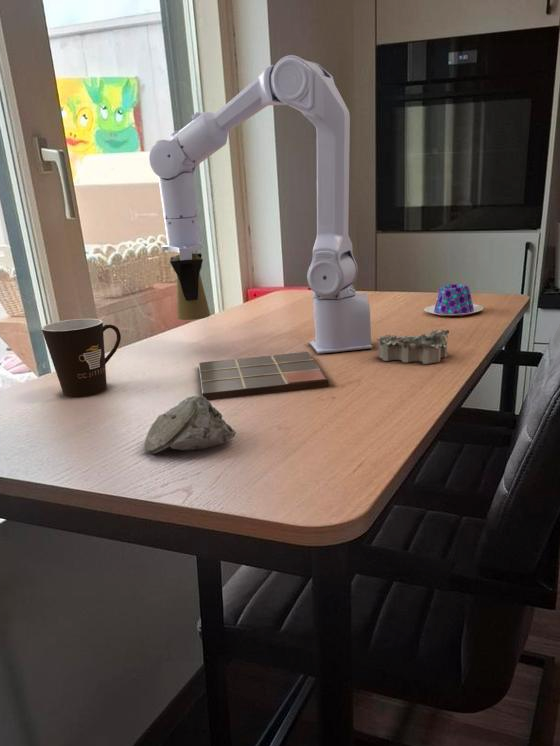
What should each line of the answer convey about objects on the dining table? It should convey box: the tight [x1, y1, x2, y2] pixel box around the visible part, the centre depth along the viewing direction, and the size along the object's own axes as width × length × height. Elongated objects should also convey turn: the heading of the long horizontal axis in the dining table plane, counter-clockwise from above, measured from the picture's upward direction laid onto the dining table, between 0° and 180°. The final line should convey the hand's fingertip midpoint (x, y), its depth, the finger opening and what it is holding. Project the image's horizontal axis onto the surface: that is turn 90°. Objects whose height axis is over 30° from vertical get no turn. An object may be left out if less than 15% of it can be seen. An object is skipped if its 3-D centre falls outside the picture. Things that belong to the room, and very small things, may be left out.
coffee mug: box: [40, 318, 122, 398], centre depth 105 cm, size 12×9×10 cm
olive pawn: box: [172, 254, 211, 321], centre depth 126 cm, size 6×6×11 cm
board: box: [198, 351, 330, 401], centre depth 107 cm, size 18×18×1 cm
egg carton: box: [376, 329, 450, 365], centre depth 112 cm, size 11×8×4 cm
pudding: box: [424, 283, 485, 317], centre depth 143 cm, size 12×12×5 cm
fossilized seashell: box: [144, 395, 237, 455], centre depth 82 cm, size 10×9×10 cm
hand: (191, 297), depth 127 cm, fingers closed on olive pawn, 5 cm apart
